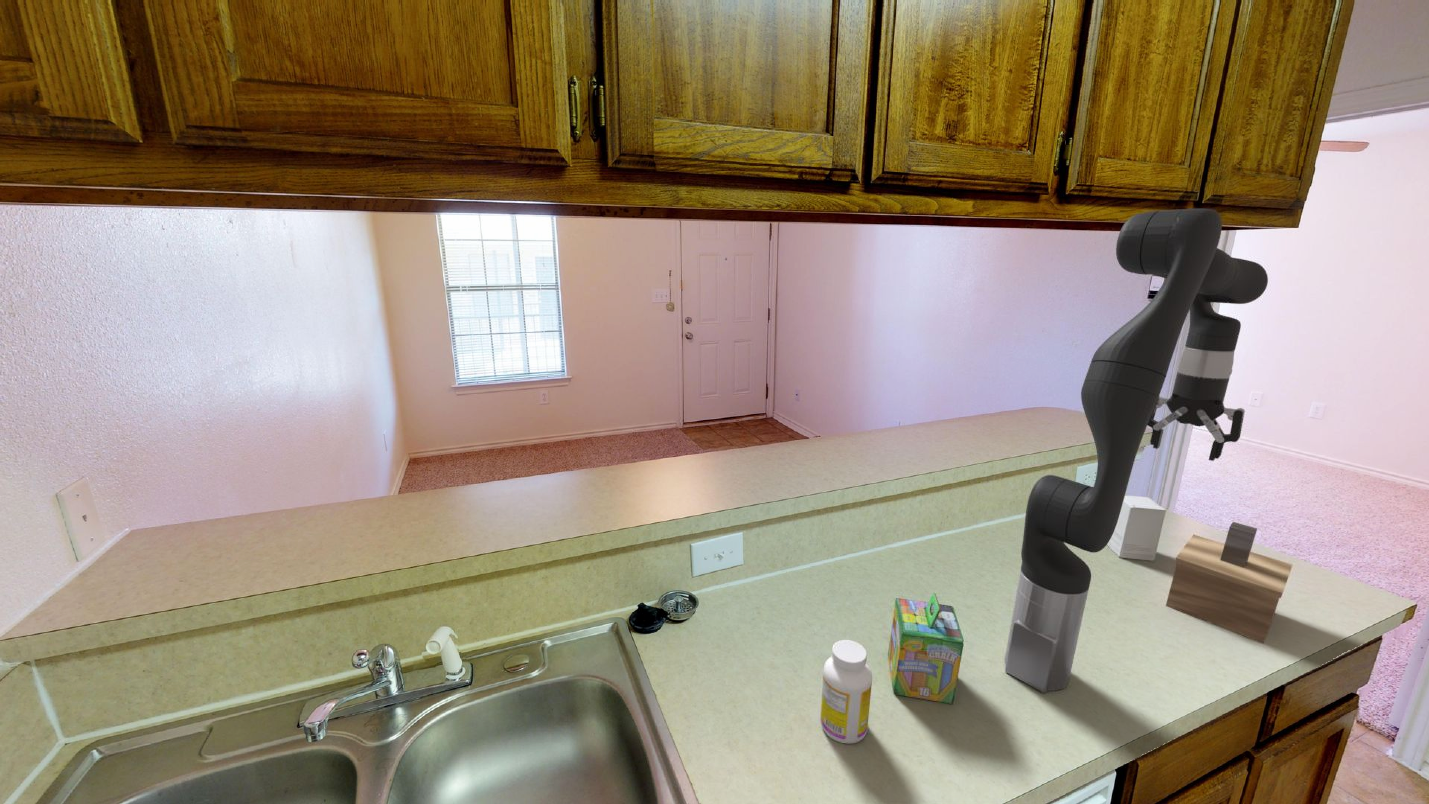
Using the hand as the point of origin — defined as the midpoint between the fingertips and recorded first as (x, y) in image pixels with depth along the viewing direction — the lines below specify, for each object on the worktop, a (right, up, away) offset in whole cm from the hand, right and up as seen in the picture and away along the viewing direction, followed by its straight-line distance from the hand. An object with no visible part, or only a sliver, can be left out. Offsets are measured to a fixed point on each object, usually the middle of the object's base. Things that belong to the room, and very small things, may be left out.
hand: (1183, 453), depth 108 cm
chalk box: (-59, -35, -19) cm, 71 cm away
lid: (+7, -21, -3) cm, 22 cm away
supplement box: (+5, -25, +21) cm, 33 cm away
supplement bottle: (-73, -37, -28) cm, 87 cm away
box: (+7, -30, 0) cm, 31 cm away
